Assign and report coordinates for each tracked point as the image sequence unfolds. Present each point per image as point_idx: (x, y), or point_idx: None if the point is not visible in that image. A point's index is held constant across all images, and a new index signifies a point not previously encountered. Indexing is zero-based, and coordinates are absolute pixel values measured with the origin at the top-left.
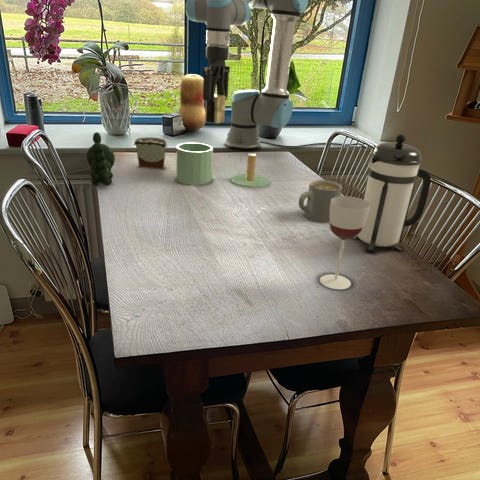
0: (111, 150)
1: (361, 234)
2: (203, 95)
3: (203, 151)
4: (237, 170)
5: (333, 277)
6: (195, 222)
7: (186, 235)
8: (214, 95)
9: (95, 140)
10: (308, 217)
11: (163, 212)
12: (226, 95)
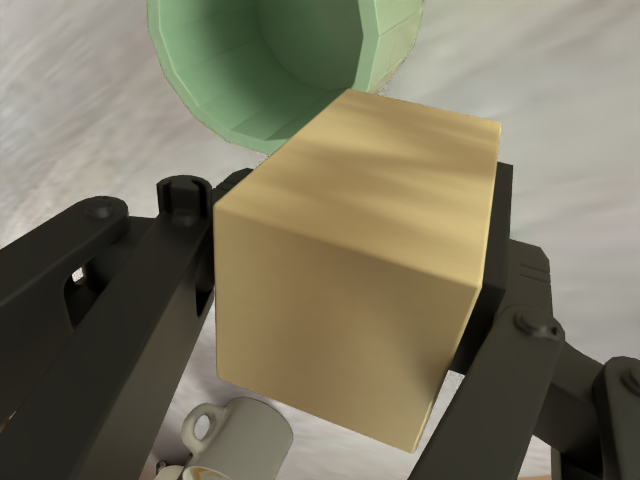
0: None
1: (158, 474)
2: (50, 228)
3: (213, 123)
4: (617, 159)
5: None
6: (34, 178)
7: None
8: (302, 327)
9: None
10: (229, 402)
11: (9, 70)
12: (567, 458)
